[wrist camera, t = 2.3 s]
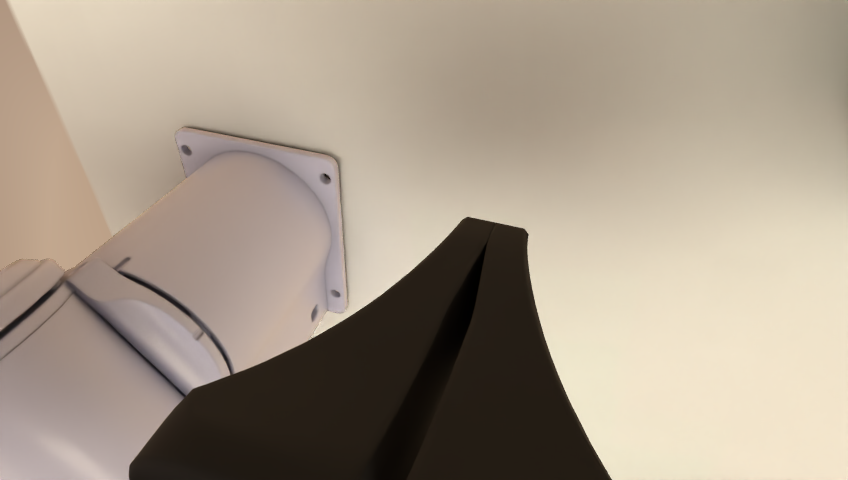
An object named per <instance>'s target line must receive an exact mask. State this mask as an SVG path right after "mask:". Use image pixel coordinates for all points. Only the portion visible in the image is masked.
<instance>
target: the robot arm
mask: <svg viewBox="0 0 848 480" xmlns="http://www.w3.org/2000/svg"><path fill="white" fill-rule="evenodd" d="M175 139H176V143H177V146H178V150H179V153H180V157H181V160H182V164H183V167H184V171H185V175H186V179H185V180H184V181H183V182H181V183H180V184H179V185H178V186H176V187H175V188H174V189H172V190H171V191H170V192H169V193H167V194H166V195H165V196H164V197H162V198H161V199H160V200H159V201H157V202H156V203H155V204H154V205H152V206H151V207H150V208H148V209H147V210H146V211H145V212H143V213H142V214H141V215H140V216H138V217H137V218H136V219H135V220H133V221H132V222H131V223H129V224H128V225H127V226H126V227H124V228H123V229H122V230H121V231H119V232H118V233H117V234H116V235H114V236H113V237H112V238H111V239H109V240H108V241H107V242H106V243H104V244H103V245H102V246H101V247H99V248H98V249H97V250H95V251H94V252H93V253H92V254H90V255H89V256H88V257H87V258H85V259H84V260H83V261H81V262H80V263H79V264H78V265H76V266H75V267H74V268H71V269H70V270H67V271H65V272H64V269H63V268H62V267H61V266H59V264H57V263H56V262H55V261H54V260H52V259H44V260H41V261H39V260H33V259H19V260H17V261H15V262H13V263H11V264H10V265H8V266H6V267H5V268H3V269H1V270H0V480H612V479H611V478H610V476H609V474H608V473H607V471H606V469H605V467H604V466H603V464H602V462H601V460H600V459H599V457H598V455H597V453H596V452H595V450H594V448H593V446H592V445H591V443H590V441H589V439H588V437H587V435H586V433H585V431H584V429H583V427H582V425H581V423H580V421H579V419H578V417H577V415H576V413H575V411H574V409H573V407H572V405H571V403H570V401H569V399H568V397H567V395H566V392H565V390H564V388H563V385H562V383H561V380H560V378H559V376H558V373H557V371H556V368H555V366H554V363H553V360H552V358H551V355H550V352H549V349H548V346H547V343H546V340H545V337H544V334H543V331H542V327H541V324H540V320H539V317H538V313H537V309H536V305H535V300H534V296H533V291H532V286H531V281H530V274H529V266H528V255H527V242H528V235H529V234H528V233H527V232H526V230H525V229H523V228H518V227H513V226H509V225H504V224H499V223H494V222H490V221H485V220H480V219H475V218H470V217H467V218H465V219H463V220H462V221H461V222H460V223H459V224H458V225H457V227H456V228H455V229H454V230H453V231H452V232H451V233H450V234H449V235H448V236H447V237H446V239H445V240H444V241H443V242H442V243H441V244H440V245H439V246H438V247H437V248H436V249H435V250H434V251H433V252H431V253H430V254H429V255H428V256H427V257H426V258H425V259H424V260H423V261H422V262H421V263H419V264H418V265H417V266H416V267H415V268H414V269H413V270H412V271H411V272H409V273H408V274H407V275H406V276H404V277H403V278H402V279H401V280H400V281H398V282H397V283H396V284H395V285H393V286H392V287H391V288H390V289H388V290H387V291H386V292H385V293H383V294H382V295H381V296H379V297H378V298H376V299H375V300H374V301H372V302H371V303H369V304H368V305H367V306H365V307H364V308H362V309H361V310H359V311H358V312H356V313H355V314H353V315H351V316H350V317H348V318H347V319H345V320H343V321H342V322H340V323H338V324H337V325H335V326H333V327H332V328H330V329H328V330H326V331H325V332H323V333H321V334H320V335H318V336H316V337H314V338H312V339H310V337H311V335H312V334H313V332H314V331H315V329H316V327H317V326H318V324H319V323H320V321H321V319H322V318H323V316H324V314H325V313H326V311H327V310H328V311H331V312H335V313H344V312H345V310H346V309H347V307H348V300H347V286H346V271H345V257H344V243H343V229H342V214H341V200H340V186H339V171H338V165H337V162H336V161H335V159H333V158H332V157H331V156H328V155H325V154H319V153H314V152H309V151H304V150H299V149H294V148H289V147H284V146H279V145H274V144H268V143H263V142H258V141H253V140H248V139H243V138H238V137H233V136H228V135H223V134H217V133H212V132H207V131H202V130H197V129H192V128H187V127H183V128H181V129H179V130H178V131H176V133H175ZM188 147H189V148H190V149H191V150H190V149H189V148H188ZM324 174H327V175H328V176H329V177H330V180H329V179H327V178H326V177H325V176H324ZM337 291H338V292H337ZM309 339H310V340H309Z"/></svg>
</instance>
